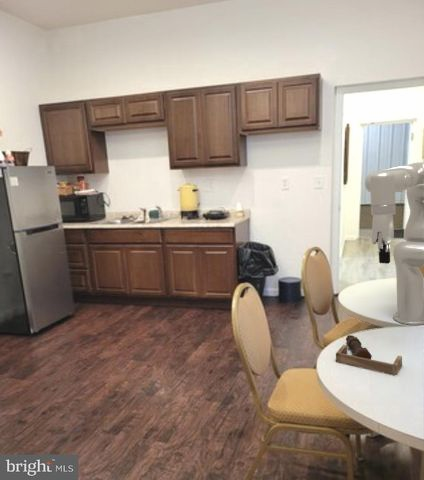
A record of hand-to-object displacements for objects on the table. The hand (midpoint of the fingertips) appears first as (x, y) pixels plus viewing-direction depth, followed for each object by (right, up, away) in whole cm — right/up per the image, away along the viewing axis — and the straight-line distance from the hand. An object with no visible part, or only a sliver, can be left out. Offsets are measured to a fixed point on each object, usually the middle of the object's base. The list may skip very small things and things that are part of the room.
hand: (384, 262), depth 129 cm
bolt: (-10, -31, -1) cm, 33 cm away
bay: (-9, -32, -8) cm, 34 cm away
